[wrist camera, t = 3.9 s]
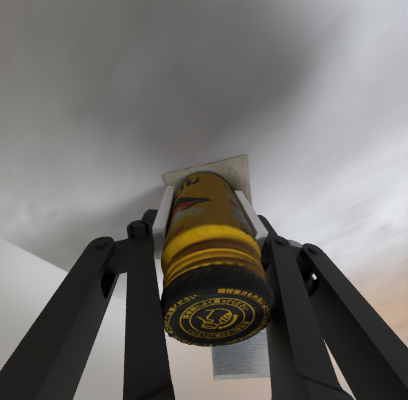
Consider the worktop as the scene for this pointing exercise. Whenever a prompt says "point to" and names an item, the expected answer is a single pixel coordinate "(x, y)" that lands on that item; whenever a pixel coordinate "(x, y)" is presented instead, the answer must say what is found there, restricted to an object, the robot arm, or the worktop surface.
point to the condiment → (212, 259)
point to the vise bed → (242, 359)
